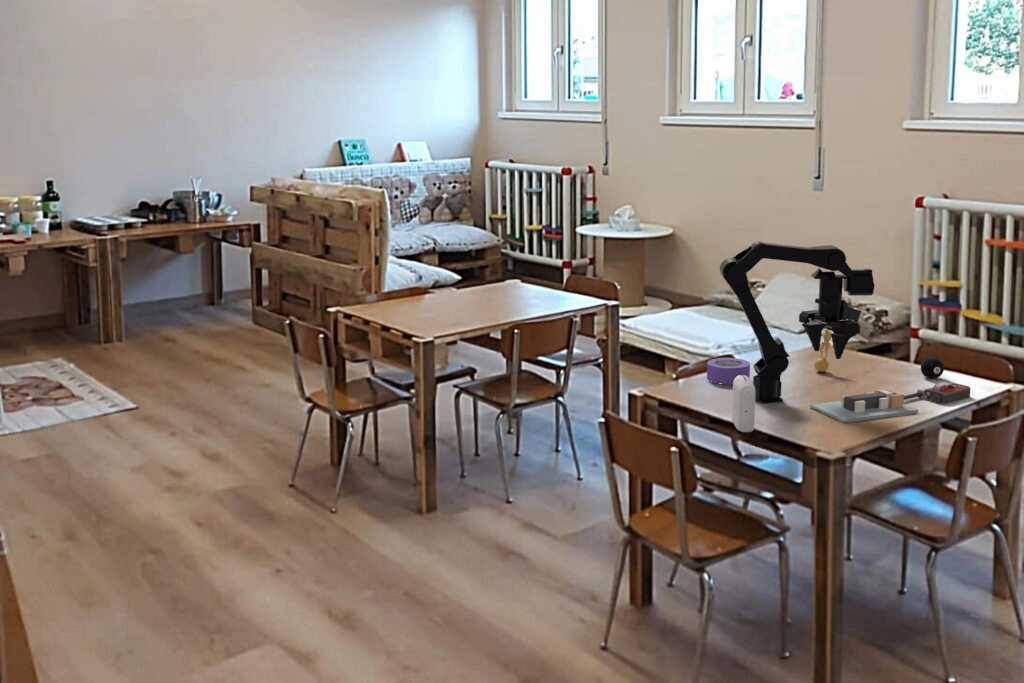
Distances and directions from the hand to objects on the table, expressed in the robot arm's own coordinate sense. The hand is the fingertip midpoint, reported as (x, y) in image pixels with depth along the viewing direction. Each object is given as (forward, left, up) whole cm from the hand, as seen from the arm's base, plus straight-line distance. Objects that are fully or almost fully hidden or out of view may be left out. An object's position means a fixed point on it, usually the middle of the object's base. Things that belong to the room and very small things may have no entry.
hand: (827, 354), depth 293 cm
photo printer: (-32, -12, -12) cm, 36 cm away
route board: (+3, -12, -12) cm, 17 cm away
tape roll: (-13, +28, -12) cm, 33 cm away
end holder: (+11, -12, -12) cm, 20 cm away
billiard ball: (+40, +7, -12) cm, 42 cm away
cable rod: (+4, -12, -11) cm, 17 cm away
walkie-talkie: (+27, -10, -13) cm, 31 cm away
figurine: (+17, +25, -12) cm, 33 cm away
